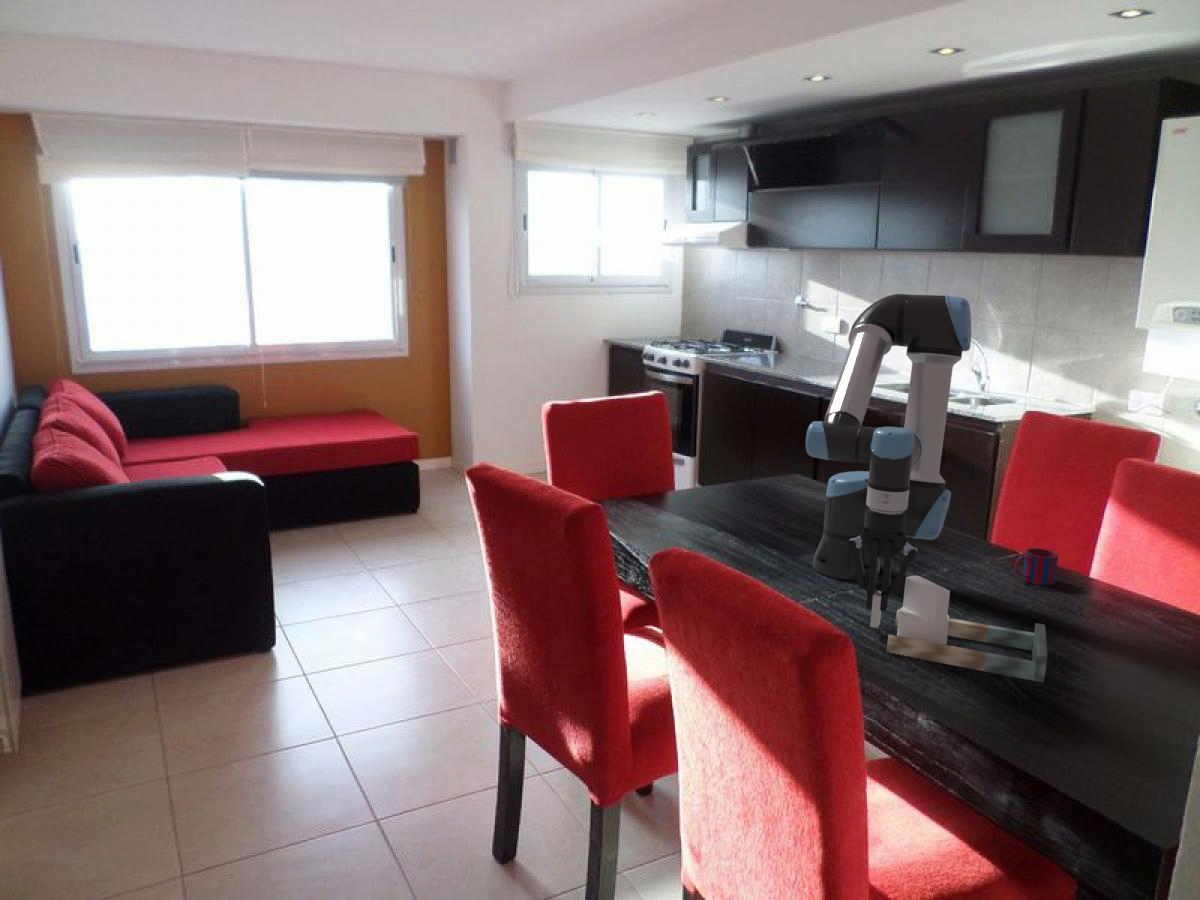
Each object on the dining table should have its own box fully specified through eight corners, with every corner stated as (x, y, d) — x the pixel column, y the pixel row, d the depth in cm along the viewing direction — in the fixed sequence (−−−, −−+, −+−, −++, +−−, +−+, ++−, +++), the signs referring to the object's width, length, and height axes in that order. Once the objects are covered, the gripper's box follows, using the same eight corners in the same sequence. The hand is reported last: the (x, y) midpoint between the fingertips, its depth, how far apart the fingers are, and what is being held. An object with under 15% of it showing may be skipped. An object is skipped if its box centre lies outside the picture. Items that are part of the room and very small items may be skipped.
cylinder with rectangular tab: (886, 637, 175) (892, 578, 173) (922, 630, 179) (928, 573, 176) (919, 656, 167) (926, 595, 165) (956, 648, 171) (963, 589, 168)
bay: (886, 652, 169) (889, 627, 168) (896, 623, 182) (898, 599, 181) (1043, 682, 158) (1047, 656, 157) (1041, 649, 172) (1044, 624, 170)
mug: (1060, 585, 206) (1064, 557, 204) (1020, 586, 204) (1023, 558, 203) (1042, 575, 212) (1046, 547, 210) (1003, 576, 211) (1006, 548, 209)
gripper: (848, 509, 170) (837, 625, 175) (920, 518, 165) (907, 638, 170) (854, 499, 177) (844, 612, 182) (924, 508, 172) (911, 624, 177)
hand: (875, 624), depth 176 cm, fingers closed
